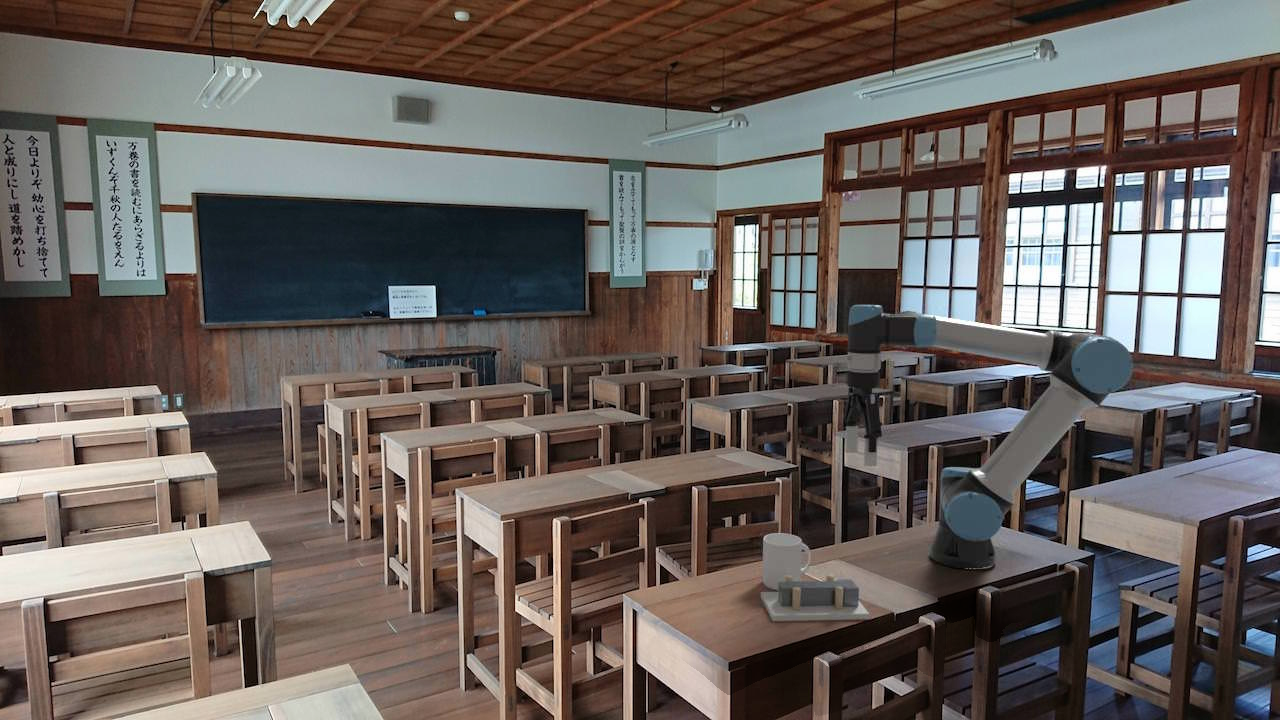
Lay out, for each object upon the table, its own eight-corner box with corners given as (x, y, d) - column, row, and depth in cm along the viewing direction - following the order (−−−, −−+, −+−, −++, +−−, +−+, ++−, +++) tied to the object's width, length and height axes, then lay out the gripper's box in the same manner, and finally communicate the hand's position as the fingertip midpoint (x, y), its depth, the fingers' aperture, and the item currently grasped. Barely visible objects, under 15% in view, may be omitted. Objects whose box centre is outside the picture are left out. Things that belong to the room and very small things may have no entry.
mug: (820, 586, 181) (822, 541, 179) (774, 594, 176) (775, 547, 175) (800, 573, 189) (801, 529, 187) (755, 580, 184) (756, 535, 183)
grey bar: (850, 597, 172) (851, 579, 171) (858, 606, 167) (858, 588, 166) (777, 598, 171) (777, 580, 171) (782, 608, 166) (783, 589, 166)
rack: (850, 595, 176) (851, 570, 175) (869, 619, 164) (869, 592, 163) (760, 597, 174) (761, 572, 174) (772, 621, 163) (773, 594, 162)
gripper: (832, 364, 200) (829, 447, 202) (865, 377, 175) (862, 471, 177) (861, 364, 200) (858, 447, 203) (899, 377, 175) (895, 471, 178)
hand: (860, 458), depth 190 cm, fingers open, 13 cm apart
